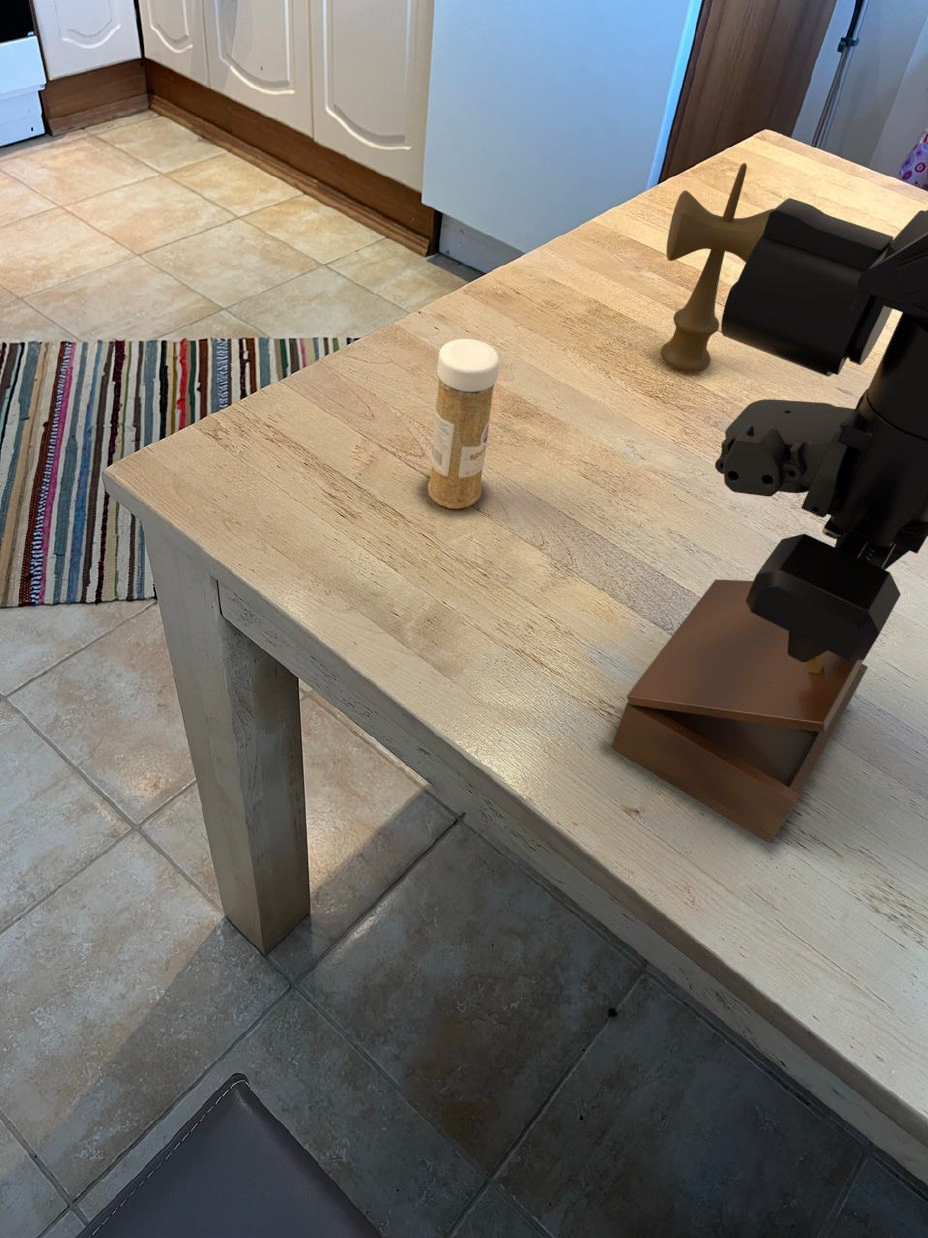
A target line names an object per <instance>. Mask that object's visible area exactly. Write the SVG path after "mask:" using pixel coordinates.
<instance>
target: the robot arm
mask: <svg viewBox="0 0 928 1238" xmlns="http://www.w3.org/2000/svg"><path fill="white" fill-rule="evenodd" d="M773 209H774V210H773V211H771V212H770V213H769V217H768V220H767V223H766V226H765V229H764V232H763V235H762V236H761V237H760V239H759V241H758V242H757V244H756V245H755V247H754V249H753V250H752V252H751V254H750V256H749V258H748V260H747V262H745V264H744V266H743V269H742V270H741V272H740V274H739V277H738V280H737V281H735V282H734V283H733V284H732V286H731V287H730V289H729V292H728V294H727V298H726V301H725V305H724V308H723V310H722V311H723V312H722V317H721V318H722V319H721V323H720V324H721V325H720V331H721V332H720V333H722V336H723V337H724V338H727V339H729V340H733V341H736V342H738V343H740V344H743V345H745V346H747V347H751V348H753V349H756V350H759V351H761V352H763V353H766V354H769V355H771V356H774V357H776V358H779V359H781V360H784V361H786V362H789V363H792V364H795V365H796V366H799V367H802V368H805V369H807V370H810V371H812V372H814V373H817V374H819V375H823V376H825V377H829V378H830V377H831V376H832V375H833V374H834V375H836V376H838V375H839V374H840V373H841V371H842V369H843V367H844V366H845V363H846V361H847V360H849V362H850V363H853V364H855V365H857V366H862V365H863V364H864V363H865V361H866V360H867V358H868V357H869V355H870V354H871V352H872V350H873V349H874V347H875V345H877V344H876V343H877V342H878V340H879V338H880V336H881V335H882V332H883V330H884V328H885V326H886V324H887V322H888V320H889V318H890V316H891V314H892V311H893V310H895V311H898V312H900V313H901V315H900V317H899V319H898V322H897V323H896V326H895V328H894V331H893V332H892V335H891V337H890V339H889V342H888V344H887V345H886V348H885V350H884V353H883V355H882V356H881V360H880V361H879V363H878V366H877V368H876V371H875V373H874V375H873V377H872V379H871V381H870V384H869V386H868V388H866V389H865V391H864V392H863V393H862V395H861V396H860V398H858V401H857V404H856V406H855V408H853V407H852V408H851V407H845V406H838V405H837V406H836V405H834V404H832V403H827V402H820V401H819V402H818V401H817V402H816V401H801V400H788V399H787V400H786V399H775V398H774V399H773V398H772V399H771V398H770V399H769V398H768V399H765V398H764V399H760V400H755V401H753V402H751V403H749V404H748V405H747V406H745V408H744V409H743V410H742V411H741V412H740V414H738V416H736V418H735V419H734V420H733V421H732V422H731V424H730V425H728V427H727V428H726V429H725V431H724V433H725V435H724V436H725V437H724V440H723V441H722V442H721V453H720V456H718V458H717V460H716V461H715V463H714V468H715V470H716V471H717V472H718V474H719V473H720V474H721V475H723V482H724V485H725V486H726V487H727V488H728V489H729V490H730V491H731V492H733V493H737V494H743V495H745V494H746V495H754V496H761V497H767V498H769V497H772V496H774V495H776V494H777V493H779V492H780V493H789V494H803V493H806V496H805V498H804V499H803V503H802V505H801V506H800V509H801V510H804V511H806V512H808V513H810V514H813V515H815V516H818V517H820V518H825V517H827V515H829V516H830V517H829V518H828V519H827V521H826V523H825V524H824V526H823V528H822V531H821V532H822V534H823V535H825V536H826V537H829V538H831V539H834V540H835V544H834V546H833V545H831V544H829V543H826V542H824V541H822V540H820V539H818V538H816V537H813V536H811V535H809V534H807V533H801V534H798V535H793V536H789V537H786V538H781V539H780V540H779V542H778V544H777V545H776V546H775V548H774V549H773V550H772V552H771V553H770V555H769V556H768V558H767V559H766V561H765V562H764V563H763V565H762V566H761V567H760V569H759V570H758V571H757V573H756V575H755V577H754V579H753V580H752V581H753V584H752V586H751V588H750V591H749V593H748V596H747V598H746V600H745V602H746V603H747V605H748V607H749V609H750V611H751V613H753V614H755V615H757V616H759V617H762V618H764V619H766V620H768V621H770V622H772V623H774V624H776V625H778V626H780V627H782V628H784V629H786V630H788V631H789V638H788V651H787V653H788V655H789V656H791V657H793V658H795V659H797V660H799V661H800V662H807V661H809V660H811V659H813V658H815V657H817V656H819V655H821V654H822V653H824V652H826V651H830V652H832V653H834V654H836V655H838V656H840V657H842V658H844V659H846V660H848V661H855V660H865V659H866V658H867V656H868V654H869V653H870V651H871V649H872V648H873V646H874V644H875V643H876V641H877V639H878V637H879V636H880V634H881V632H882V630H883V628H884V626H885V624H886V623H887V621H888V619H889V617H890V615H891V614H892V612H893V610H894V609H895V606H896V604H897V602H898V600H899V599H900V597H901V591H900V590H899V588H898V585H897V583H896V581H895V579H894V577H893V576H892V573H891V572H890V571H888V570H887V569H888V568H889V567H891V566H892V565H893V564H895V563H897V561H898V560H900V559H902V558H903V557H904V556H905V555H906V554H907V553H909V552H912V553H913V554H916V555H917V554H919V552H920V550H921V548H922V546H923V545H924V543H925V541H926V539H927V537H928V209H926V210H924V209H923V210H919V211H918V212H917V213H916V214H915V215H914V216H913V217H912V218H911V219H910V221H908V222H907V224H906V225H904V227H903V228H902V229H901V230H900V232H899V233H898V234H897V235H896V236H895V237H894V236H892V235H890V234H886V233H884V232H880V231H878V230H875V229H871V228H868V227H866V226H862V225H860V224H856V223H853V222H850V221H847V220H844V219H842V218H838V217H835V216H832V215H829V214H827V213H825V212H824V211H822V210H820V209H819V208H817V207H815V206H814V205H812V204H809V203H807V202H804V201H800V200H797V199H794V198H791V197H788V198H785V200H783V201H782V202H781V203H780V204H779V205H777V206H776V207H775V208H773Z"/></svg>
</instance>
